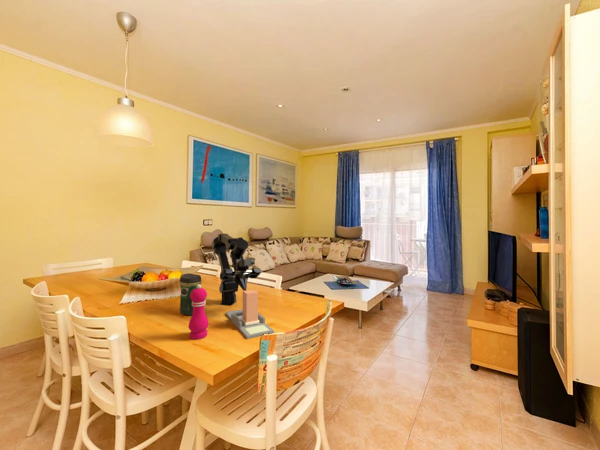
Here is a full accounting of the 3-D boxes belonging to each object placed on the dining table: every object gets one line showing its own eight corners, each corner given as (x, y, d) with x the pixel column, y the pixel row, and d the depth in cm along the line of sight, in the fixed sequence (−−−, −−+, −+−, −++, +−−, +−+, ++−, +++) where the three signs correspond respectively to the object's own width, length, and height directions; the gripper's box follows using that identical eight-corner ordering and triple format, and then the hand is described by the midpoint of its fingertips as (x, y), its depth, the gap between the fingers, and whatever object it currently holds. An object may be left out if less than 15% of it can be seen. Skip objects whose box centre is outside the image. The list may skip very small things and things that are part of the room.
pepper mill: (191, 332, 107) (192, 282, 107) (210, 331, 108) (210, 281, 108) (185, 340, 100) (185, 286, 100) (205, 340, 101) (206, 286, 100)
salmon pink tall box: (241, 320, 116) (241, 290, 116) (254, 318, 119) (254, 289, 119) (245, 325, 111) (245, 294, 111) (259, 323, 114) (259, 292, 114)
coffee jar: (204, 312, 130) (204, 273, 130) (190, 317, 124) (190, 276, 123) (191, 308, 135) (191, 271, 135) (176, 313, 128) (176, 274, 128)
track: (225, 313, 128) (225, 307, 128) (248, 310, 134) (248, 304, 134) (247, 338, 102) (247, 331, 102) (273, 332, 108) (273, 325, 108)
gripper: (225, 251, 120) (232, 282, 112) (262, 251, 132) (270, 280, 124) (216, 264, 127) (222, 294, 119) (252, 263, 139) (260, 291, 131)
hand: (245, 290), depth 123 cm, fingers closed
